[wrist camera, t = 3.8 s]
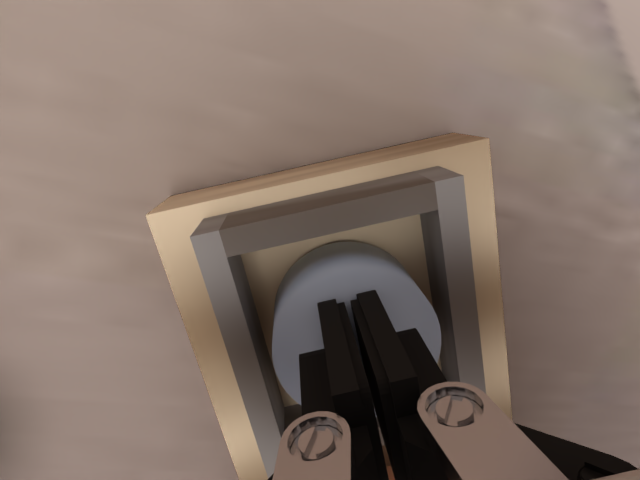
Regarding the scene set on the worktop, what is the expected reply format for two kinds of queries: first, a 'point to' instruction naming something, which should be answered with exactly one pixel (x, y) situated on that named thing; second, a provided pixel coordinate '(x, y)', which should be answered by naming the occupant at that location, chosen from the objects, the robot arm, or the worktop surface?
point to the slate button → (343, 284)
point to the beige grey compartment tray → (322, 229)
